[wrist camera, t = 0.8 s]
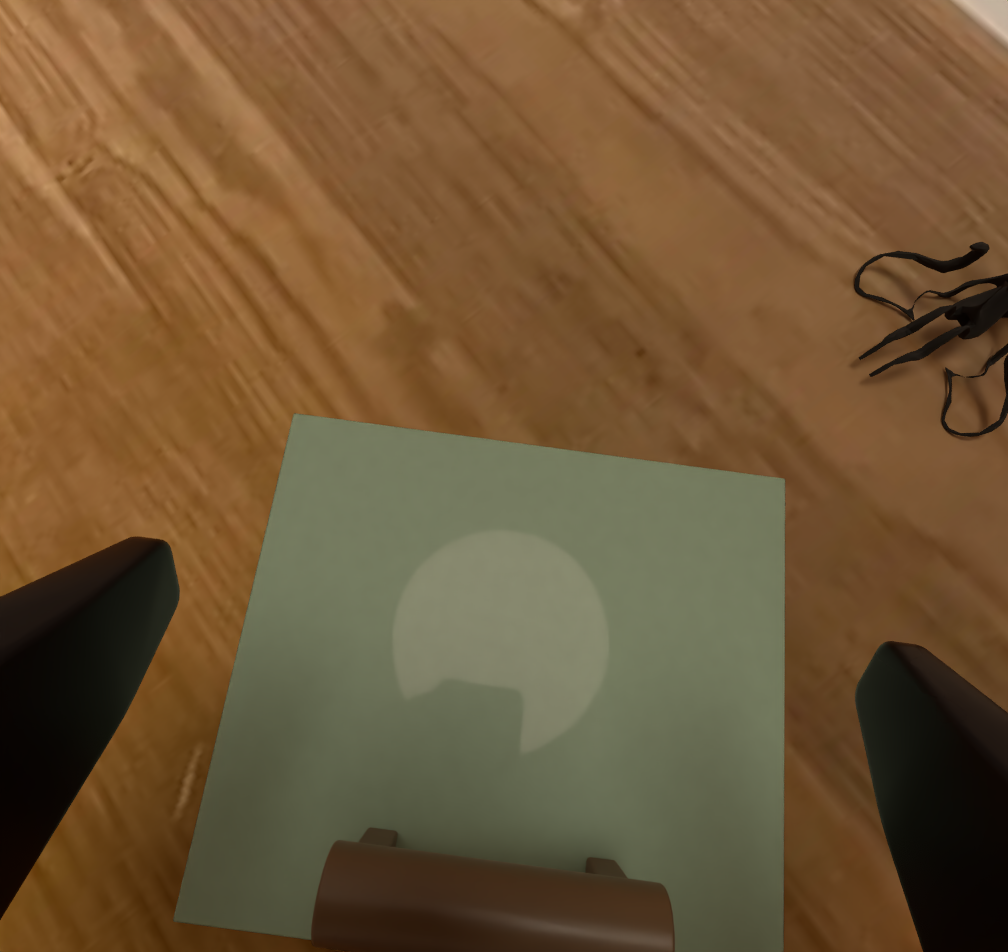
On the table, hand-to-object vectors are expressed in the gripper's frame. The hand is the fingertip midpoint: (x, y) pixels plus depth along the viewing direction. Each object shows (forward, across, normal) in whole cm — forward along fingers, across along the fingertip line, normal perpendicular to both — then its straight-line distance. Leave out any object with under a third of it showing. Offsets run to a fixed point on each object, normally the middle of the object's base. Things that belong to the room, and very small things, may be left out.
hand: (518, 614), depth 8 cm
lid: (+5, 0, +7) cm, 9 cm away
